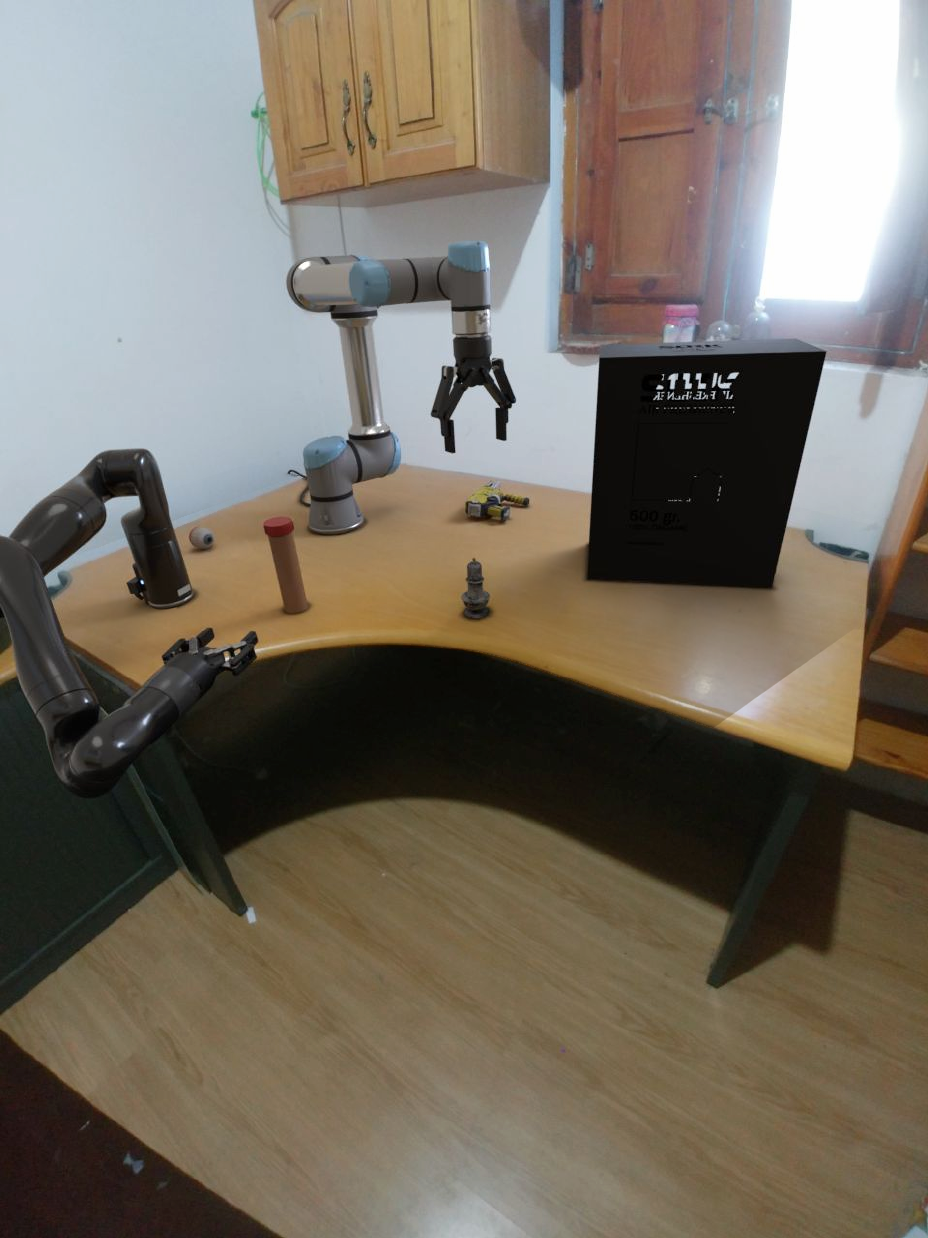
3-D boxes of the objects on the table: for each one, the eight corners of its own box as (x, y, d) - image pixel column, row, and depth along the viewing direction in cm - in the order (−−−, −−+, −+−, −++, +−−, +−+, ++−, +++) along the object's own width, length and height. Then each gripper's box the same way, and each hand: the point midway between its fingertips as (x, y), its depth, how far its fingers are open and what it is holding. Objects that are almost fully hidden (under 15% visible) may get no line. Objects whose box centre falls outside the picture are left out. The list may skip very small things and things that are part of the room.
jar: (289, 615, 125) (270, 529, 116) (281, 607, 129) (262, 523, 119) (311, 608, 127) (294, 523, 118) (302, 600, 131) (285, 517, 121)
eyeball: (203, 554, 156) (196, 532, 153) (187, 550, 159) (181, 528, 156) (222, 546, 160) (216, 524, 157) (206, 542, 163) (200, 521, 160)
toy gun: (537, 485, 181) (489, 478, 185) (516, 509, 160) (463, 500, 164) (535, 500, 183) (488, 493, 187) (515, 526, 163) (463, 517, 167)
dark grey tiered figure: (488, 619, 119) (486, 564, 113) (459, 618, 120) (455, 563, 114) (493, 605, 124) (491, 551, 118) (465, 604, 125) (462, 550, 119)
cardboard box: (752, 548, 142) (795, 338, 119) (772, 587, 124) (826, 351, 102) (589, 543, 149) (600, 344, 127) (586, 579, 132) (599, 357, 110)
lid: (270, 539, 116) (268, 528, 115) (260, 530, 120) (258, 521, 119) (298, 531, 119) (296, 521, 118) (288, 523, 123) (285, 514, 122)
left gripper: (144, 702, 96) (203, 648, 110) (223, 711, 93) (274, 654, 107) (128, 663, 93) (192, 612, 106) (210, 671, 89) (265, 617, 103)
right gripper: (429, 342, 108) (437, 460, 118) (533, 329, 120) (532, 437, 131) (407, 340, 113) (417, 454, 124) (508, 328, 125) (510, 432, 136)
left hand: (233, 633), depth 106 cm, fingers open, 8 cm apart
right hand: (476, 445), depth 127 cm, fingers open, 13 cm apart
